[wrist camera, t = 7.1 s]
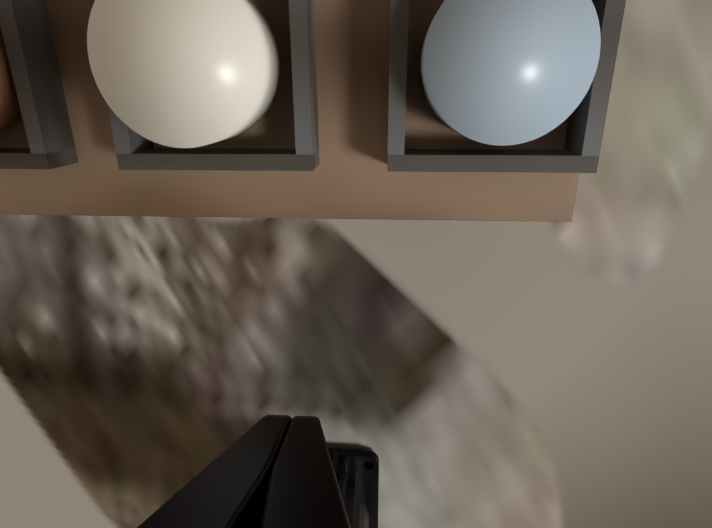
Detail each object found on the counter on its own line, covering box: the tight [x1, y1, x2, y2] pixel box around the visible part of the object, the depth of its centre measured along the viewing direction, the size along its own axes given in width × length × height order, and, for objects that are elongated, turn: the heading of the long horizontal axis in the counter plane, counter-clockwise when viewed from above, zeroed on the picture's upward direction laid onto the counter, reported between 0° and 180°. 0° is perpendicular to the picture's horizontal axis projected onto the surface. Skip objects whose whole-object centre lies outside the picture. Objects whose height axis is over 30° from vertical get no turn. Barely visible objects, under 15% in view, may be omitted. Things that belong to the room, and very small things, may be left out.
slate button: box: [419, 0, 601, 146], centre depth 13 cm, size 4×4×2 cm
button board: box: [0, 0, 626, 222], centre depth 15 cm, size 10×23×4 cm, turn 90°
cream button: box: [87, 0, 279, 148], centre depth 13 cm, size 4×4×2 cm
